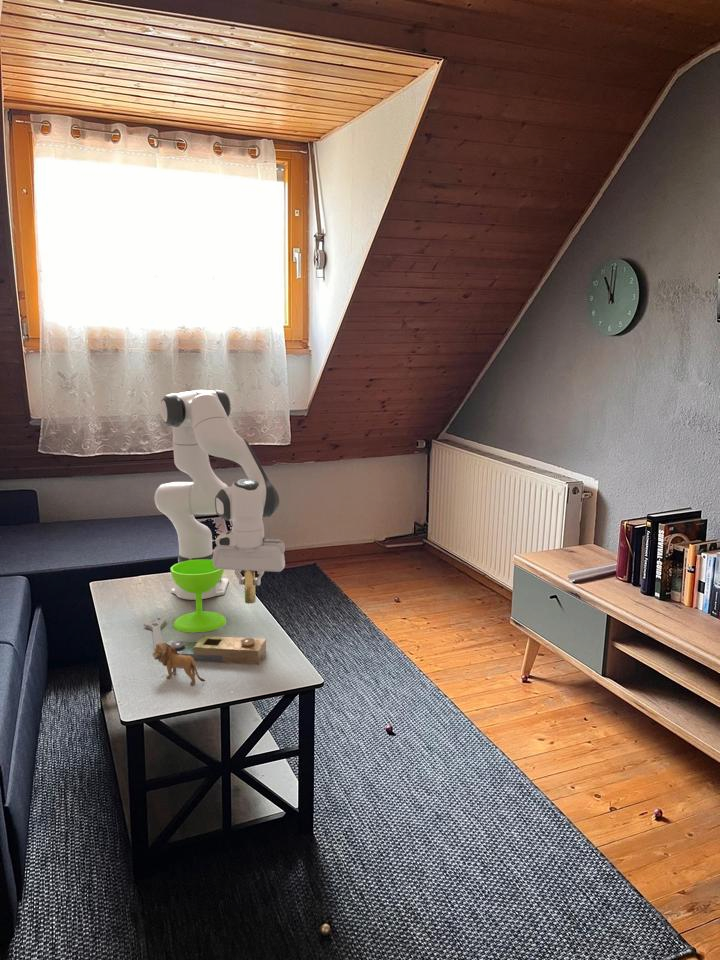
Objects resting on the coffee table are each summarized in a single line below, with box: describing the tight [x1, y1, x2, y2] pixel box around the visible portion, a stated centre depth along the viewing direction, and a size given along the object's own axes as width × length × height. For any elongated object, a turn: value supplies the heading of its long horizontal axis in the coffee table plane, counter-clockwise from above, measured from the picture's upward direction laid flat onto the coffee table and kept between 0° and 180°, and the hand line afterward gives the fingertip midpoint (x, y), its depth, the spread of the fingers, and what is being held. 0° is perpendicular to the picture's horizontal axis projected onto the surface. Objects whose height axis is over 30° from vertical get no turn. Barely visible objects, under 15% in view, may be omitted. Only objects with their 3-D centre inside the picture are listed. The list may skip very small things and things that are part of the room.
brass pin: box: [243, 570, 257, 605], centre depth 213 cm, size 3×3×10 cm
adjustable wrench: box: [143, 616, 167, 651], centre depth 221 cm, size 25×6×2 cm, turn 13°
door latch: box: [166, 635, 267, 666], centre depth 207 cm, size 8×28×5 cm, turn 82°
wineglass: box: [170, 559, 227, 633], centre depth 229 cm, size 16×16×18 cm
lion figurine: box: [152, 642, 206, 686], centre depth 193 cm, size 15×5×9 cm, turn 70°
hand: (249, 584), depth 213 cm, fingers closed on brass pin, 3 cm apart
